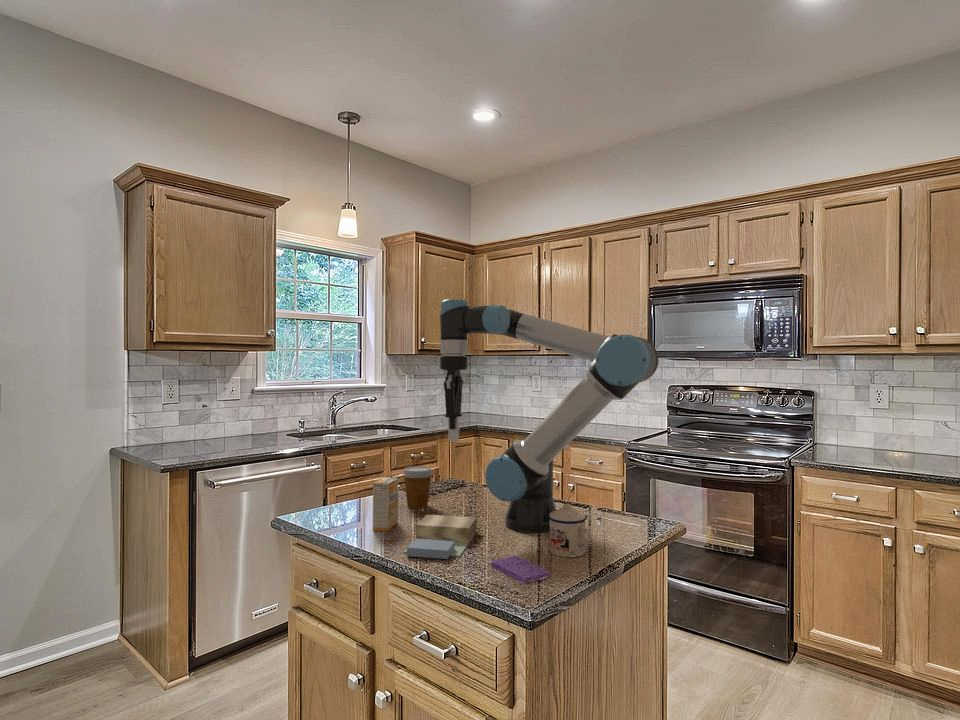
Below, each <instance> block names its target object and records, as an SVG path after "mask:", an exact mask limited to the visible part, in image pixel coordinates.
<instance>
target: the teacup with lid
mask: <svg viewBox="0 0 960 720" xmlns="http://www.w3.org/2000/svg"><path fill="white" fill-rule="evenodd" d="M549 519H550V531H549V552H550V553H551V554H552V553H553V554H552V555H554V554H555V555H554V556H556V555H559V556H558V557H560V556H566V557H565V558H568V557H570V556H578V555H581V554H583V553H584V552H585V553H586V549H587V548H589V546H590V545H591V543H592V539H593V538H592V537H593V536H592V532H591V531H590V529H589V528H588V527H586V521H587V516H586V514H585V513H584V512H582V511H579V510H577V509H575V508H573V507H572V504H571V503H564V504H563V506H562V507H560V508H559V509H556V511H553V512H551V513H550V514H549ZM585 553H584V554H585ZM584 554H583V555H584Z"/></svg>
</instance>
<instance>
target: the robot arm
mask: <svg viewBox="0 0 960 720" xmlns="http://www.w3.org/2000/svg"><path fill="white" fill-rule="evenodd" d="M439 313H440V314H439V318H440V319H439V320H440V322H439V324H440V338H439V339H440V343H438V347H439V348H440V351H439V353H440V354H441V355H442V356H440V358H439V360H440V361H439V364H440V365H439V366H440V367H439V368H440V370H441V371H443V370H444V371H446V376H445V379H444V381H443V388H444V397H445V398H444V400H445V401H444V402H445V415H444V417H445V418H447V419H448V421H447V422H448V423H447V425H448V426H447V428H448V429H447V430H448V431H447V435H448V436H447V437H448V439H447V441H448V442H460V441H459V440H460V418H461V417H463V413H462V399H463V398H462V396H463V385H464V380H463V376H462V375H461V371H465V370H467V369H468V357H467V356H466V355H468V348H469V347H468V335H471V334H472V335H473V334H475V335H478V334H479V335H480V334H483V335H484V334H486V335H488V334H489V335H499V336H505V337H508V338H512V339H516V340H519V341H523V342H527V343H529V344H533V345H537V346H540V347H543V348H545V349H549V350H552V351H556V352H560V353H564V354H566V355H569V356H573V357H576V358H579V359H582V360H586V361H590V362H589V364H587V366H586V375H585V377H583V379H582V380H580V382H579V383H577V385H576V386H575V387H574V388H573V389H572V390H571V391H570V392H568V394H567V395H566V396H565V397H564V398H563V399H562V400H561V401H560V402H559V403H558V404H557V406H556V407H554V408H553V410H552V411H551V412H550V413H549V414H548V415H547V416H546V417H545V418H544V419H543V420H542V421H541V422H540V423H539V424H538V425H537V427H535V428H534V429H533V431H531V432H530V434H528V436H526V438H524V439H516V440H515V441H514V442H512V444H511V445H509V447H508V448H507V449H506V450H505V451H503V453H502V454H500V455H499V456H495V457H494V458H492V460H491V461H489V463H488V464H487V466H486V467H485V473H484V476H485V477H484V478H485V484H486V486H487V487H486V488H487V489H488V490H489V492H490V494H492V496H494V498H497V499H498V500H499V501H503V502H509V505H508V508H507V510H506V515H505V525H506V526H505V527H506V528H509V529H512V530H514V531H519V532H524V533H525V532H526V533H546V532H550V519H549V514H550V513H551V512H553V511H556V510H557V506H556V504H555V500H554V497H553V496H554V459H555V458H556V457H557V456H558V455H559V454H560V453H561V452H562V451H563V449H565V448H566V447H567V446H569V444H570V443H571V442H572V440H574V439H575V438H576V437H577V436H578V435H579V434H580V433H581V432H583V430H584V429H585V428H586V427H587V426H588V425H589V424H590V423H592V421H593V420H594V419H595V418H596V417H597V416H598V415H599V414H600V413H601V412H602V411H603V410H604V409H605V408H606V407H607V406H608V405H609V404H610V403H611V402H612V401H614V400H618V401H620V400H623V399H624V398H625V397H627V395H628V394H629V393H630V392H631V391H632V390H634V388H635V387H636V386H637V385H638V384H639V383H643V382H644V381H645V382H646V381H647V380H649V379H650V378H651V377H653V375H654V374H655V373H656V371H657V369H658V366H659V363H660V362H659V354H658V351H657V349H656V347H655V346H654V344H653V343H651V342H650V341H649V340H648V339H646V338H643V337H640V336H639V337H638V336H635V335H633V334H619V335H618V334H616V333H613V334H611V335H610V336H608V335H603V334H600V333H597V332H592V331H589V330H585V329H581V328H578V327H575V326H571V325H567V324H564V323H561V322H560V323H559V322H556V321H552V320H549V319H544V318H541V317H537V316H535V315H529V314H527V313H522V312H518V311H517V310H515V309H510V308H507V306H505V305H502V304H500V305H498V304H490V305H474V306H470V305H468V301H467V300H466V299H462V298H450V299H447V298H446V299H443V300H442V301H441V302H440V312H439Z"/></svg>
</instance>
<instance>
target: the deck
mask: <svg viewBox="0 0 960 720" xmlns="http://www.w3.org/2000/svg"><path fill="white" fill-rule="evenodd" d="M477 519H478V518H477V517H475V516H473V517H471V516H455V515H441V514H440V515H439V514H426V515H425V516H424V517H423V518H422V519H421V520H420V521H419V522H417V524H415V539H430V540H444V541H455V542H462V543H469V544H470V543H471V541H472V540H473V538H474V537H475V536H476V534H477V533H478V532H477V531H478V529H477V527H478V525H477V523H478V521H477Z"/></svg>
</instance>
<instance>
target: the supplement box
mask: <svg viewBox="0 0 960 720" xmlns="http://www.w3.org/2000/svg"><path fill="white" fill-rule="evenodd" d="M398 523H399V478H398V477H382V478H381V479H378V480H376V481H374V482H372V531H383V532H388V531H389V530H391V529H392V528H393V527H395V526H396V525H397V524H398Z"/></svg>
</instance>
